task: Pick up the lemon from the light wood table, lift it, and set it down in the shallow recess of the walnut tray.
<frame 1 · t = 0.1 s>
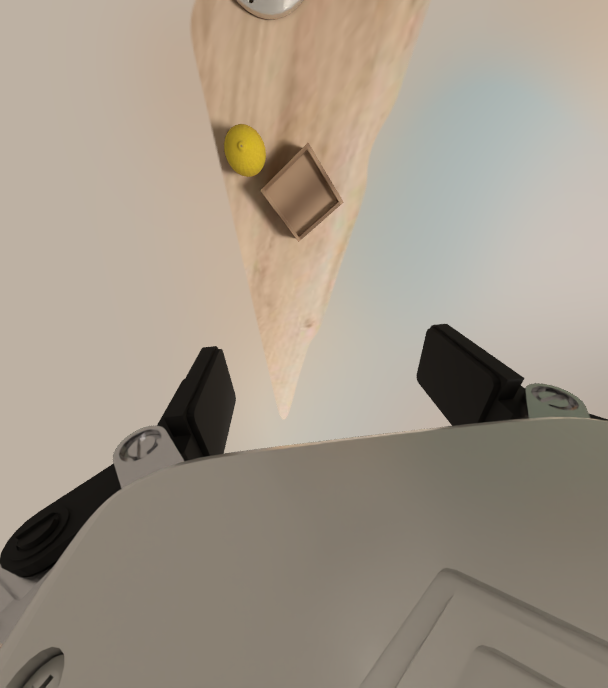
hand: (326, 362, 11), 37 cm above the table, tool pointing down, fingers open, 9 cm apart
lemon: (249, 157, 36), on the table
walnut tray: (300, 197, 39), on the table
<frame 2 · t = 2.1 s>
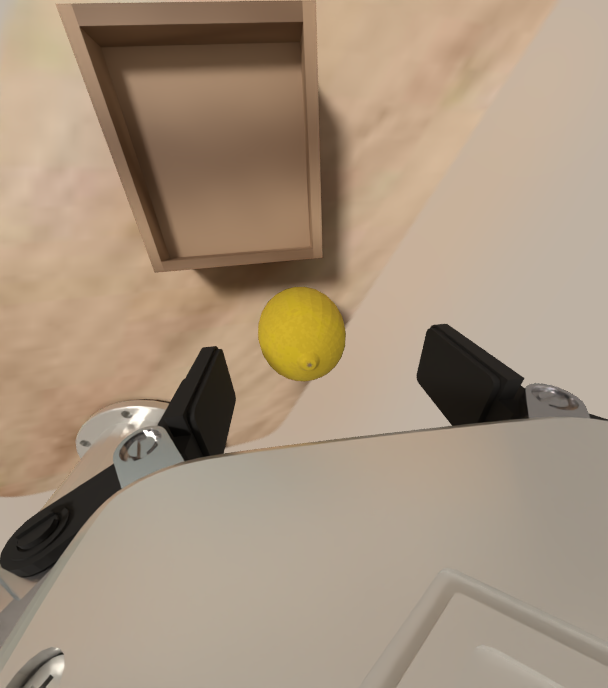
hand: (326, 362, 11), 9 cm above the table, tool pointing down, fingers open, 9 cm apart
lemon: (295, 309, 19), on the table
walnut tray: (234, 175, 14), on the table
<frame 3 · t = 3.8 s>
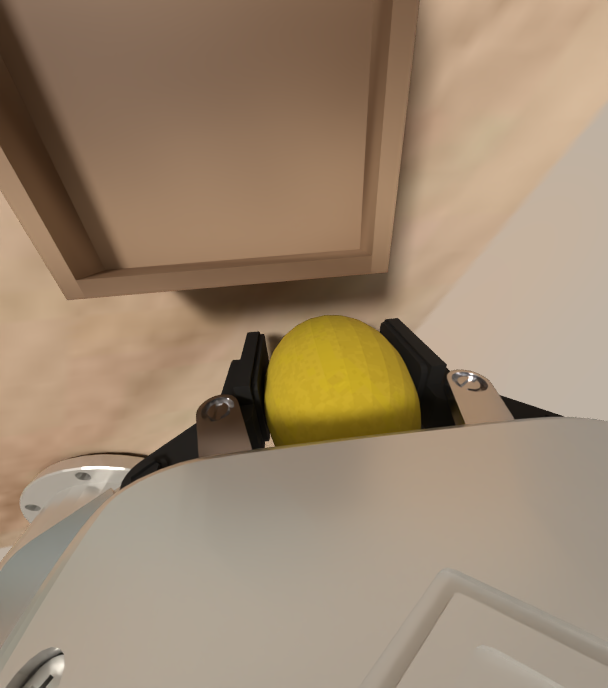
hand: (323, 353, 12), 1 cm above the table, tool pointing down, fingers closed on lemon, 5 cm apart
lemon: (319, 338, 13), on the table, touching gripper
walnut tray: (224, 119, 8), on the table
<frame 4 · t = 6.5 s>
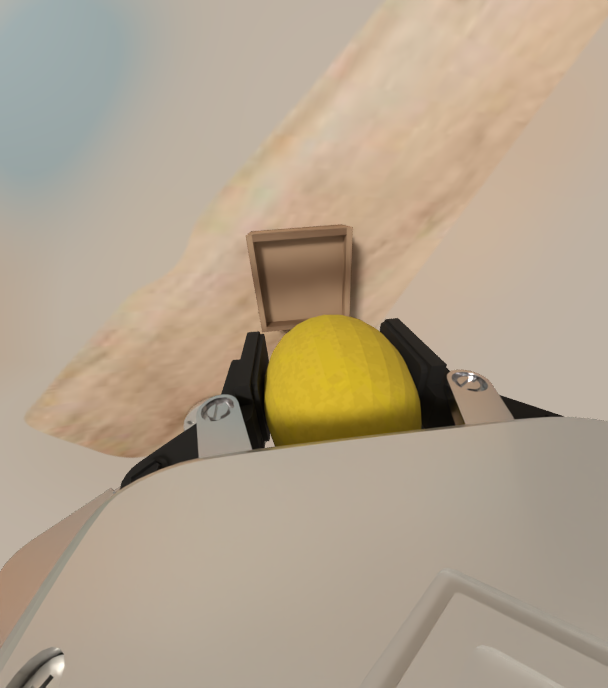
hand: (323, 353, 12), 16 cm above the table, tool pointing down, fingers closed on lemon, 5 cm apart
lemon: (319, 338, 13), point 15 cm above the table, touching gripper
walnut tray: (299, 273, 25), on the table
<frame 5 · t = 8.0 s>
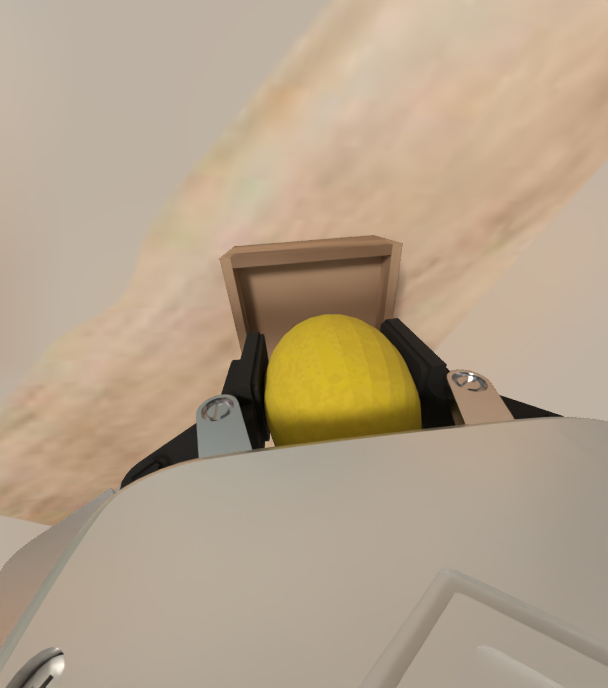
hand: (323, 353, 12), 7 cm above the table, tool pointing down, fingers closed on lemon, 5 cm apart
lemon: (319, 337, 13), point 5 cm above the table, touching gripper
walnut tray: (308, 306, 17), on the table
when the fingers open (6 cm above the table, at t = 9.1 s): lemon drops 1 cm, resting on walnut tray.
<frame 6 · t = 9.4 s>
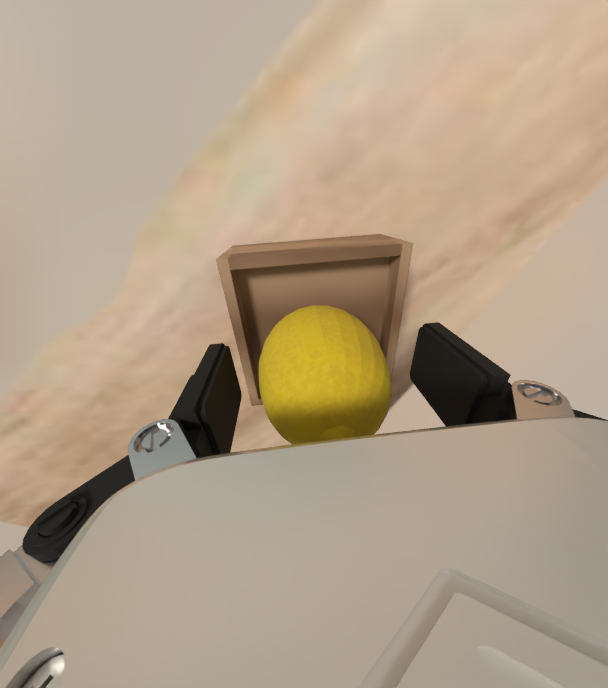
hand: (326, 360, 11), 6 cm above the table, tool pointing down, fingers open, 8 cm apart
lemon: (310, 328, 14), point 3 cm above the table, touching walnut tray
walnut tray: (310, 309, 16), on the table
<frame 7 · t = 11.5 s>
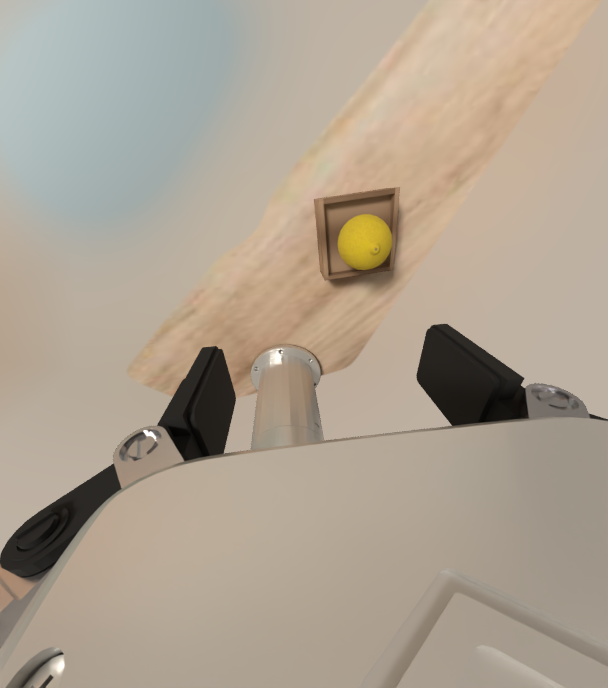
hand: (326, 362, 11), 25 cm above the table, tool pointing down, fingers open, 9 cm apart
lemon: (353, 237, 29), point 3 cm above the table, touching walnut tray
walnut tray: (350, 233, 32), on the table
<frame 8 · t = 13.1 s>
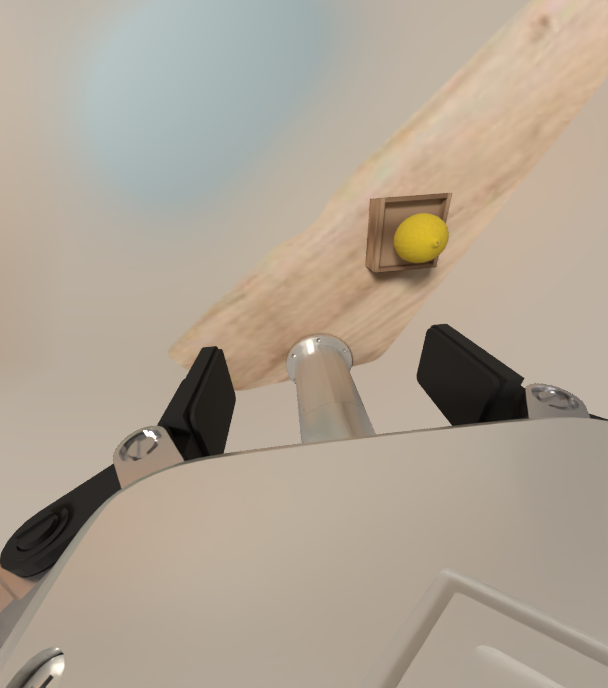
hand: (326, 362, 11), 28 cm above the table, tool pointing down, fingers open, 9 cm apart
lemon: (403, 235, 32), point 3 cm above the table, touching walnut tray
walnut tray: (397, 232, 35), on the table
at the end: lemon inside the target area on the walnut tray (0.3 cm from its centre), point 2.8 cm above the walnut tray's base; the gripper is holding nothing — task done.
